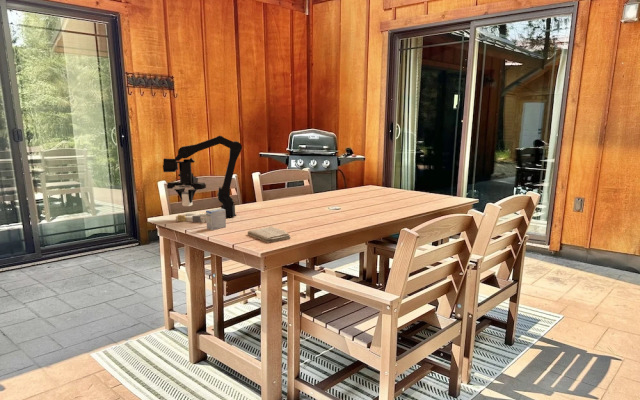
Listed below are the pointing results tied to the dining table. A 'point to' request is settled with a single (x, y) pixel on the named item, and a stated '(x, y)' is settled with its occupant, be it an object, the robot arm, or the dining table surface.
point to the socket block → (192, 217)
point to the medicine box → (216, 218)
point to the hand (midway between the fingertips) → (187, 202)
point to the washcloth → (269, 234)
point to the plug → (186, 199)
